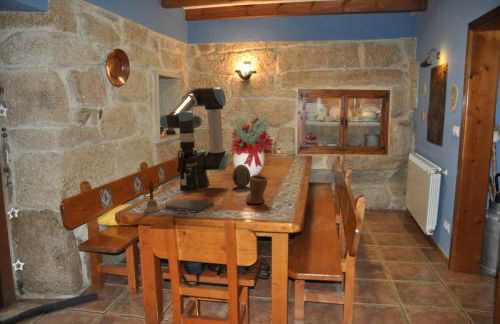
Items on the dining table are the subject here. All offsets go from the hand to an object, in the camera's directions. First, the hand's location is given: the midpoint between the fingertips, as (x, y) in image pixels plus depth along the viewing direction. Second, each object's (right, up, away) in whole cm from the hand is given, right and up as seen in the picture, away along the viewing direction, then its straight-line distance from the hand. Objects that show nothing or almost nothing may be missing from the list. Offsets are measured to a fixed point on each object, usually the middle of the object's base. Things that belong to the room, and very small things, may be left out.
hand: (189, 183), depth 205 cm
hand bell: (-19, -14, -4) cm, 24 cm away
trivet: (0, -13, +2) cm, 13 cm away
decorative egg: (+27, -5, +46) cm, 54 cm away
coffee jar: (0, -4, +1) cm, 4 cm away
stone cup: (+37, -11, +9) cm, 39 cm away
